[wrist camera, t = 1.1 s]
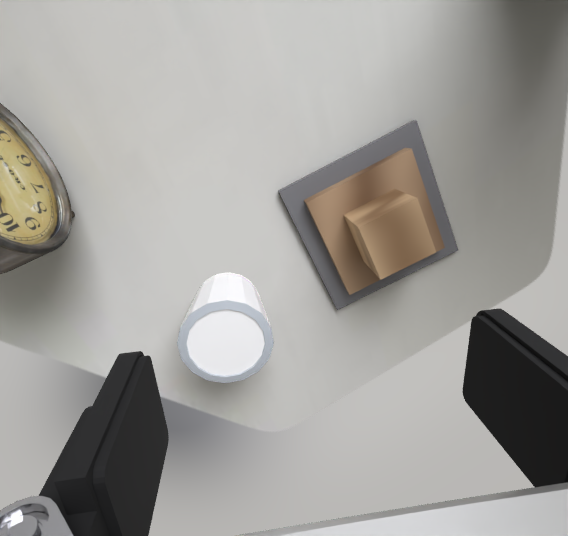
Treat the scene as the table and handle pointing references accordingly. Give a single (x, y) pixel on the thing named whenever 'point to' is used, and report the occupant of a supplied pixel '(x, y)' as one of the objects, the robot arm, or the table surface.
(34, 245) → the alarm clock
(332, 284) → the mat
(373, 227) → the lid
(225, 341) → the white round container
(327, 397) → the table surface
